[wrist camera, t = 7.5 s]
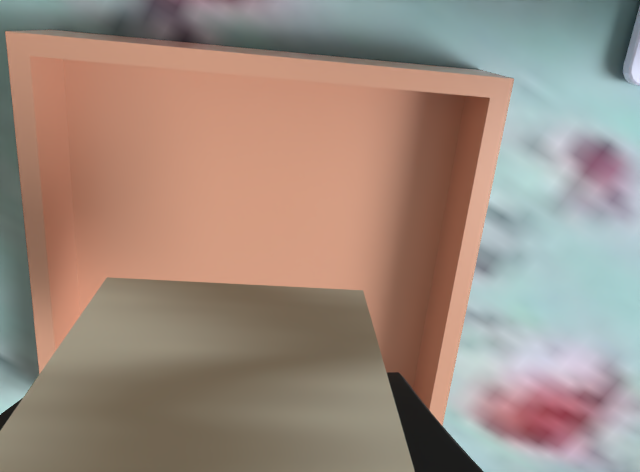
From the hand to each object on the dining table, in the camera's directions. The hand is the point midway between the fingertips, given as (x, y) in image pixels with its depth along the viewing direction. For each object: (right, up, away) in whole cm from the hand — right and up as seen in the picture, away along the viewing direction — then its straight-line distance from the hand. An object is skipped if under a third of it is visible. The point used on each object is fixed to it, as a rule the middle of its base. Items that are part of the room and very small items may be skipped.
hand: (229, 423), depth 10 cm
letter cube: (0, 0, +1) cm, 1 cm away
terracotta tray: (0, +3, +8) cm, 9 cm away
